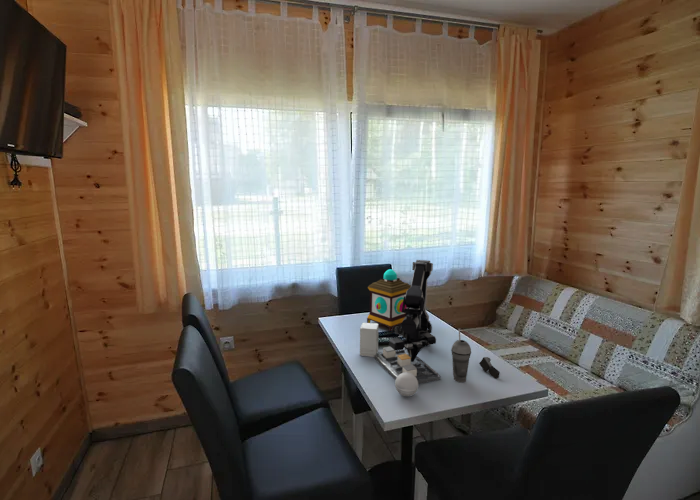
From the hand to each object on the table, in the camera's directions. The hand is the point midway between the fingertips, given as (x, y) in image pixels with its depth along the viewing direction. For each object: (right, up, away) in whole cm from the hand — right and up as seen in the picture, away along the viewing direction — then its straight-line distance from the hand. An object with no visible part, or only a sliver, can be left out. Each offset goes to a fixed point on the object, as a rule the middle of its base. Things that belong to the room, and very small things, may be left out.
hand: (412, 361), depth 148 cm
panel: (-3, -3, -1) cm, 4 cm away
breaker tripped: (-3, -1, -1) cm, 4 cm away
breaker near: (-3, -2, -10) cm, 10 cm away
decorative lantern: (-4, +5, +48) cm, 48 cm away
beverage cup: (+16, -4, -9) cm, 19 cm away
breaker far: (-9, 0, +6) cm, 10 cm away
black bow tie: (+30, -4, -4) cm, 30 cm away
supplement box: (-17, -1, +13) cm, 21 cm away
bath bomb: (-5, -6, -19) cm, 21 cm away
